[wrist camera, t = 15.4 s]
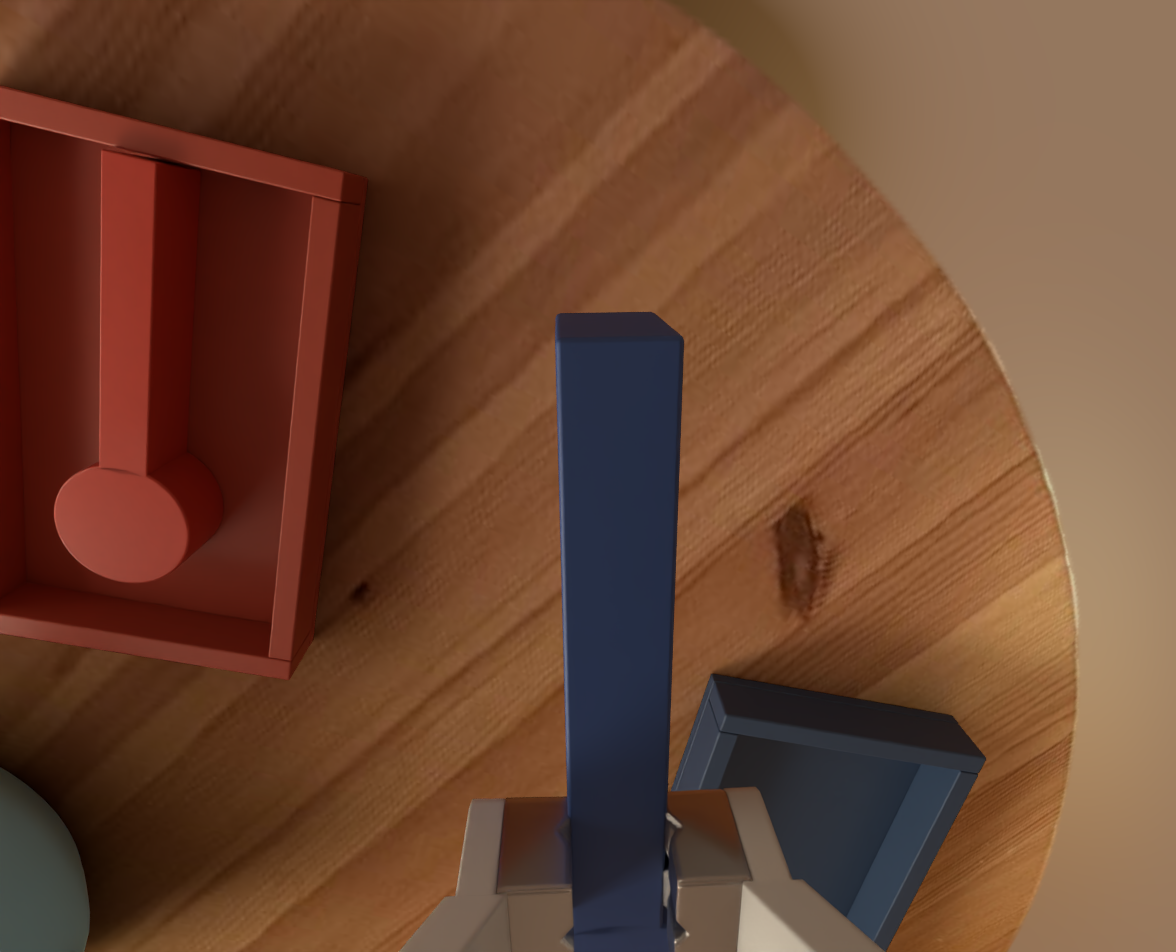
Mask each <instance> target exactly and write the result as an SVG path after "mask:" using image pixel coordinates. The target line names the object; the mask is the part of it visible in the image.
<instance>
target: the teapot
mask: <svg viewBox="0 0 1176 952" xmlns="http://www.w3.org/2000/svg"><path fill="white" fill-rule="evenodd" d="M89 926H90V908H89V899H88V892H87V886H86V880H85V875H84V870H83V867H82V864H81V859H80V856H79V853H78V850H77V847H76V844H75V842H74V840H73V838H72V836H71V834H70V832H69V830H68V829H67V827H66V826H65V824H64V823H63V821H62V820H61V819H60V817H59V816H58V814H57V813H56V812H55V811H54V810H53V809H52V808H51V807H50V806H49V804H48V803H47V802H46V801H45V800H44V799H43V798H42V797H40V796H39V795H38V794H37V793H36V792H35V791H34V790H32V789H31V788H30V787H29V786H28V785H26V784H25V783H24V782H22V781H21V780H19V779H18V778H16V777H15V776H14V775H12V774H11V773H9V772H7V771H6V770H4V769H2V768H0V952H84V951H85V947H86V942H87V938H88V934H89Z"/></svg>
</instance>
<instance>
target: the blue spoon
mask: <svg viewBox="0 0 1176 952" xmlns="http://www.w3.org/2000/svg"><path fill="white" fill-rule="evenodd" d="M555 351H556V388H557V426H558V464H559V502H560V539H561V577H562V615H563V653H564V690H565V728H566V766H567V804H568V816H569V817H570V818H571V844H572V877H573V911H574V952H670V951H669V944H668V938H667V909H666V907H665V906H664V905H663V904H662V884H663V870H664V867H665V850H664V848H663V847H664V822H665V813H666V811H667V794H668V767H669V739H670V712H671V685H672V657H673V630H674V603H675V575H676V548H677V521H678V493H679V466H680V438H681V411H682V384H683V356H684V340H683V337H682V336H681V335H680V334H678V333H677V332H676V331H675V330H674V329H672V328H671V327H670V326H669V325H668V324H667V323H665V322H664V321H663V320H662V319H661V318H659V317H658V316H657V315H656V314H655V313H652V312H616V313H560V314H558V315H557V316H556V328H555Z"/></svg>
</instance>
